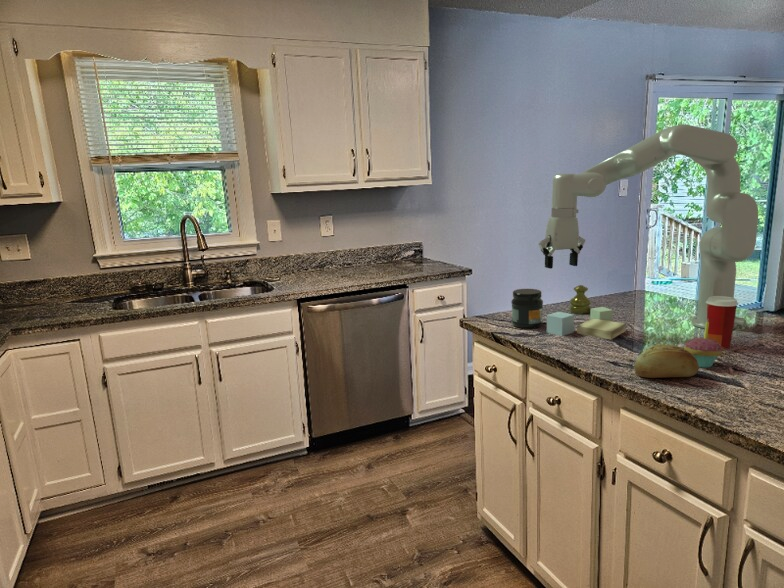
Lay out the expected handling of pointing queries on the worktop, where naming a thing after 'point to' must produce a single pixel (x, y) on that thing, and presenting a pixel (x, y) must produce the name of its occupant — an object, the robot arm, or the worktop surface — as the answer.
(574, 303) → the olive pawn figure
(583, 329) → the maple slab
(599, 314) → the sage block
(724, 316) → the paper cup
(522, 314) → the supplement container
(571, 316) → the blue cube
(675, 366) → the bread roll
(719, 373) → the worktop surface
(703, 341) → the cupcake
